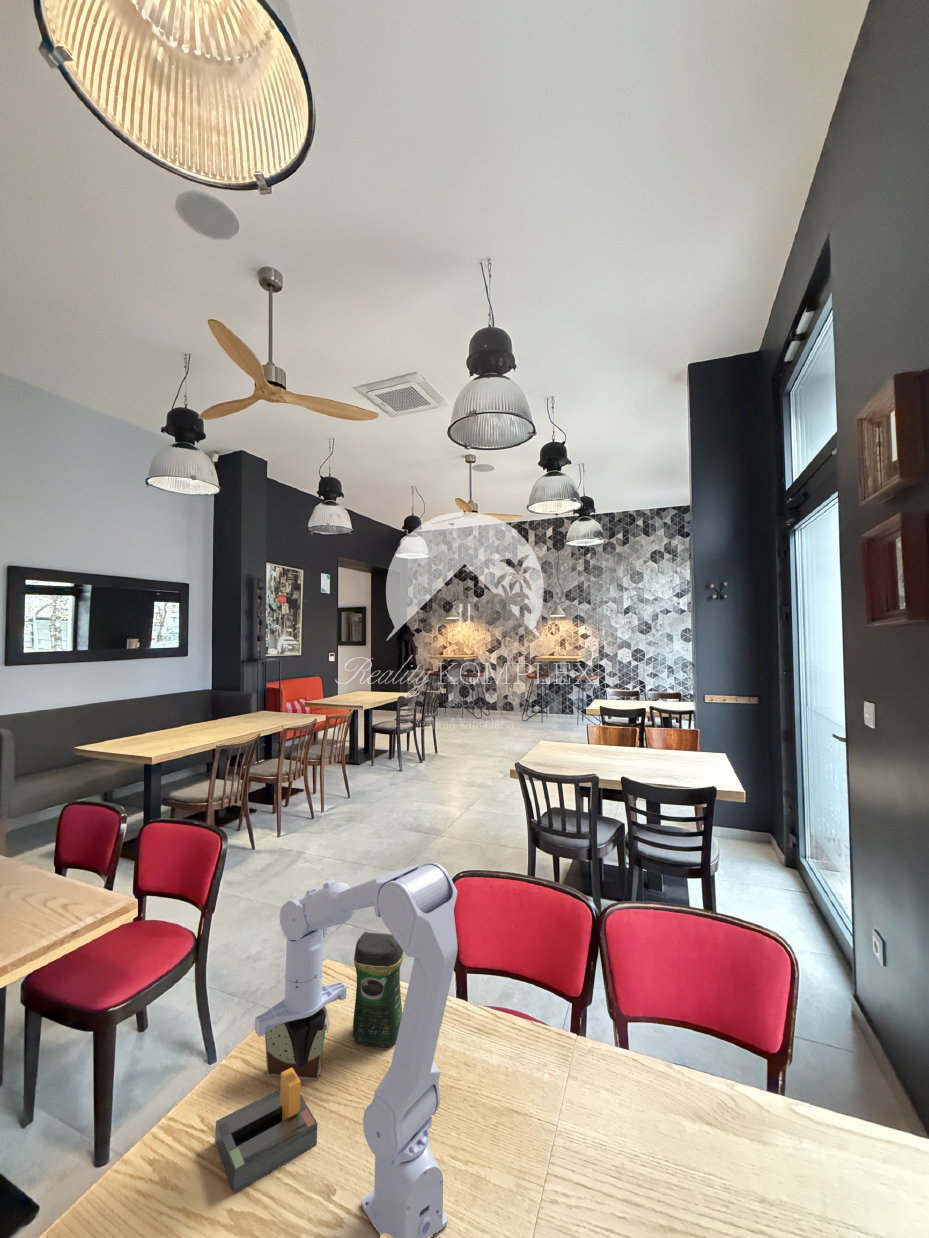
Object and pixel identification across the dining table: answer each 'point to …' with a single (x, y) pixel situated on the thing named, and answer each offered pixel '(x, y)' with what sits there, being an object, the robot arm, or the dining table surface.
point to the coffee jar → (377, 990)
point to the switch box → (262, 1139)
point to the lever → (290, 1093)
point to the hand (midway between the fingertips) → (300, 1061)
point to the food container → (283, 1056)
